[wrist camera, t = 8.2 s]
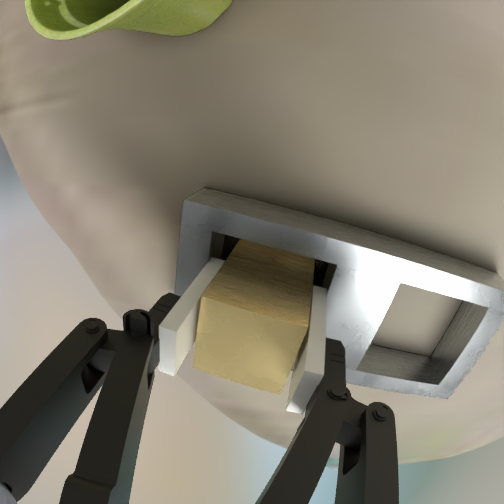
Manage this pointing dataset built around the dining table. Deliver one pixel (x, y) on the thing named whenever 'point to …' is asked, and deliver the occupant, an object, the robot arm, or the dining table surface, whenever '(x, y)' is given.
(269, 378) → the yellow rectangular block
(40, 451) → the robot arm
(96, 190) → the dining table surface
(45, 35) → the plant pot
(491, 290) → the grey double window frame
